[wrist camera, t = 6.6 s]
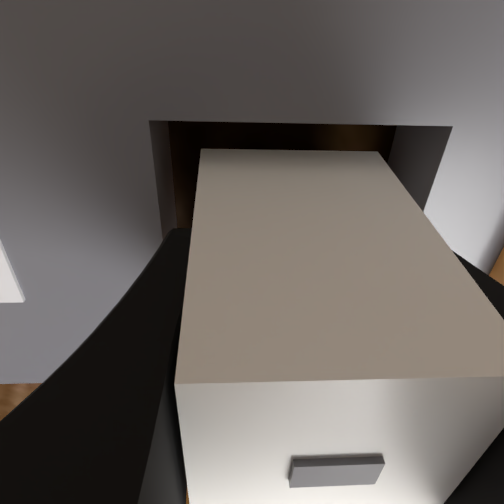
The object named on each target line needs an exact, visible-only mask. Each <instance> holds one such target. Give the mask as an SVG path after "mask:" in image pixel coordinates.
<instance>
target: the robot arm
mask: <svg viewBox="0 0 504 504" xmlns="http://www.w3.org/2000/svg"><path fill="white" fill-rule="evenodd" d="M191 233H192V228H173V229H171V230H170V231H169V232H168V233H167V235H166V236H165V238H164V240H163V241H162V243H161V245H160V246H159V248H158V249H157V251H156V252H155V254H154V255H153V257H152V258H151V260H150V261H149V262H148V264H147V265H146V267H145V268H144V270H143V271H142V272H141V274H140V275H139V276H138V277H137V279H136V280H135V281H134V283H133V284H132V285H131V287H130V288H129V289H128V291H127V292H126V293H125V295H124V296H123V297H122V298H121V300H120V301H119V302H118V303H117V304H116V305H115V307H114V308H113V309H112V310H111V311H110V312H109V314H108V315H107V316H106V317H105V318H104V319H103V321H102V322H101V323H100V324H99V325H98V326H97V328H96V329H95V330H94V331H93V332H92V333H91V334H90V335H89V337H88V338H87V339H86V340H85V341H84V342H83V343H82V344H81V345H80V346H79V347H78V348H77V349H76V350H75V351H74V352H73V353H72V354H71V355H70V356H69V358H68V359H67V360H66V361H65V362H64V363H62V364H61V365H60V366H59V367H58V368H57V369H56V370H55V371H54V372H53V373H52V374H51V375H50V376H49V377H48V378H47V379H46V380H45V381H44V382H43V383H42V384H41V385H40V386H39V387H38V388H37V389H35V390H34V391H33V392H32V393H31V394H30V395H29V396H28V397H27V398H25V399H24V400H23V401H22V402H21V403H20V404H19V405H18V406H17V407H16V408H14V409H13V410H12V411H11V412H10V413H9V414H8V415H7V416H6V417H4V418H3V419H2V420H1V421H0V504H186V490H187V479H186V471H185V463H184V456H183V448H182V440H181V432H180V424H179V417H178V409H177V401H176V393H175V386H174V382H175V374H176V365H177V356H178V347H179V338H180V330H181V321H182V312H183V303H184V294H185V286H186V277H187V268H188V259H189V250H190V242H191ZM453 253H454V254H455V255H456V257H457V258H458V259H459V261H460V262H461V263H462V265H463V266H464V267H465V269H466V270H467V271H468V273H469V274H470V275H471V277H472V278H473V279H474V281H475V282H476V283H477V285H478V286H479V287H480V289H481V290H482V291H483V293H484V294H485V295H486V297H487V298H488V299H489V301H490V302H491V303H492V305H493V306H494V307H495V309H496V310H497V311H498V313H499V314H500V315H501V317H502V318H503V320H504V286H503V285H502V284H500V283H499V282H497V281H496V280H494V279H493V278H492V277H490V276H489V275H487V274H486V273H484V272H483V271H481V270H480V269H478V268H477V267H475V266H474V265H473V264H471V263H470V262H468V261H467V260H465V259H464V258H462V257H461V256H460V255H458V254H457V253H455V252H454V251H453ZM444 504H504V428H503V429H502V431H501V432H500V433H499V434H498V436H497V437H496V438H495V439H494V441H493V442H492V443H491V444H490V446H489V447H488V448H487V450H486V451H485V452H484V453H483V455H482V456H481V457H480V458H479V460H478V461H477V462H476V463H475V465H474V466H473V467H472V468H471V470H470V471H469V472H468V473H467V475H466V476H465V477H464V478H463V480H462V481H461V482H460V484H459V485H458V486H457V487H456V489H455V490H454V491H453V492H452V494H451V495H450V496H449V497H448V499H447V500H446V501H445V502H444Z"/></svg>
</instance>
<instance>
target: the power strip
mask: <svg viewBox="0 0 504 504" xmlns="http://www.w3.org/2000/svg"><path fill="white" fill-rule="evenodd" d="M168 121H209V122H260V123H311V124H362V125H397V128H396V131H395V135H394V139H393V143H392V147H391V151H390V154H389V158H388V162H387V165H388V166H389V167H390V169H391V170H392V171H393V173H394V174H395V175H396V177H397V178H398V179H399V181H400V182H401V183H402V185H403V186H404V187H405V189H406V190H407V191H408V193H409V194H410V195H411V197H412V198H413V199H414V201H415V202H416V203H417V205H418V206H419V207H420V209H421V210H422V211H423V213H424V214H425V215H426V217H427V218H428V219H429V221H430V222H431V223H432V225H433V226H434V227H435V229H436V230H437V231H438V233H439V234H440V235H441V237H442V238H443V239H444V241H445V242H446V243H447V245H448V246H449V247H450V249H451V250H452V251H454V252H455V253H457V254H458V255H460V256H461V257H462V258H464V259H465V260H467V261H468V262H470V263H471V264H473V265H474V266H475V267H477V268H478V269H480V270H481V271H483V272H484V273H486V274H487V275H489V276H490V277H492V278H493V279H494V280H496V281H497V282H499V283H500V284H502V285H503V286H504V0H0V384H12V383H43V382H44V381H45V380H46V379H47V378H48V377H49V376H50V375H51V374H52V373H53V372H54V371H55V370H56V369H57V368H58V367H59V366H60V365H61V364H62V363H64V362H65V361H66V360H67V359H68V358H69V356H70V355H71V354H72V353H73V352H74V351H75V350H76V349H77V348H78V347H79V346H80V345H81V344H82V343H83V342H84V341H85V340H86V339H87V338H88V337H89V335H90V334H91V333H92V332H93V331H94V330H95V329H96V328H97V326H98V325H99V324H100V323H101V322H102V321H103V319H104V318H105V317H106V316H107V315H108V314H109V312H110V311H111V310H112V309H113V308H114V307H115V305H116V304H117V303H118V302H119V301H120V300H121V298H122V297H123V296H124V295H125V293H126V292H127V291H128V289H129V288H130V287H131V285H132V284H133V283H134V281H135V280H136V279H137V277H138V276H139V275H140V274H141V272H142V271H143V270H144V268H145V267H146V265H147V264H148V262H149V261H150V260H151V258H152V257H153V255H154V254H155V252H156V251H157V249H158V248H159V246H160V245H161V243H162V241H163V240H164V238H165V236H166V235H167V233H168V232H169V231H170V230H171V229H173V228H177V217H176V205H175V194H174V183H173V172H172V160H171V149H170V138H169V126H168Z"/></svg>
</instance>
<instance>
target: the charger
mask: <svg viewBox="0 0 504 504" xmlns="http://www.w3.org/2000/svg"><path fill="white" fill-rule="evenodd" d="M174 386H175V393H176V401H177V409H178V417H179V424H180V432H181V440H182V448H183V456H184V463H185V471H186V479H187V487H188V494H189V502H190V504H444V502H445V501H446V500H447V499H448V497H449V496H450V495H451V494H452V492H453V491H454V490H455V489H456V487H457V486H458V485H459V484H460V482H461V481H462V480H463V478H464V477H465V476H466V475H467V473H468V472H469V471H470V470H471V468H472V467H473V466H474V465H475V463H476V462H477V461H478V460H479V458H480V457H481V456H482V455H483V453H484V452H485V451H486V450H487V448H488V447H489V446H490V444H491V443H492V442H493V441H494V439H495V438H496V437H497V436H498V434H499V433H500V432H501V431H502V429H503V428H504V320H503V318H502V317H501V315H500V314H499V313H498V311H497V310H496V309H495V307H494V306H493V305H492V303H491V302H490V301H489V299H488V298H487V297H486V295H485V294H484V293H483V291H482V290H481V289H480V287H479V286H478V285H477V283H476V282H475V281H474V279H473V278H472V277H471V275H470V274H469V273H468V271H467V270H466V269H465V267H464V266H463V265H462V263H461V262H460V261H459V259H458V258H457V257H456V255H455V254H454V253H453V251H452V250H451V249H450V247H449V246H448V245H447V243H446V242H445V241H444V239H443V238H442V237H441V235H440V234H439V233H438V231H437V230H436V229H435V227H434V226H433V225H432V223H431V222H430V221H429V219H428V218H427V217H426V215H425V214H424V213H423V211H422V210H421V209H420V207H419V206H418V205H417V203H416V202H415V201H414V199H413V198H412V197H411V195H410V194H409V193H408V191H407V190H406V189H405V187H404V186H403V185H402V183H401V182H400V181H399V179H398V178H397V177H396V175H395V174H394V173H393V171H392V170H391V169H390V167H389V166H388V165H387V163H386V162H385V161H384V159H383V158H382V157H381V155H380V154H379V153H378V151H317V150H256V149H201V154H200V162H199V171H198V180H197V189H196V198H195V206H194V215H193V224H192V233H191V242H190V250H189V259H188V268H187V277H186V286H185V294H184V303H183V312H182V321H181V330H180V338H179V347H178V356H177V365H176V374H175V382H174Z"/></svg>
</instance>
